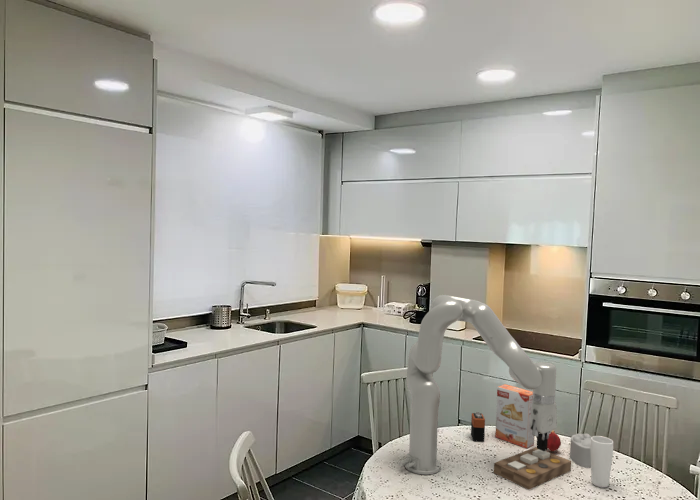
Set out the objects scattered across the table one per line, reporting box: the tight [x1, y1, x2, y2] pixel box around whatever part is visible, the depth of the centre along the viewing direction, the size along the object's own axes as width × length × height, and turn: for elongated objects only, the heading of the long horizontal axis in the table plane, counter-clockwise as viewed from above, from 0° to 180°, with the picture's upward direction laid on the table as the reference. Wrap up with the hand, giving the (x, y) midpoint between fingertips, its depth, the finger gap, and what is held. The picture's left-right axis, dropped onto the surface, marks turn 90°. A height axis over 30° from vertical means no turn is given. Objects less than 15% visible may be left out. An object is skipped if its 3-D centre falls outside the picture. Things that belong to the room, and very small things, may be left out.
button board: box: [493, 446, 572, 491], centre depth 186 cm, size 24×14×4 cm, turn 127°
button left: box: [508, 461, 526, 470], centre depth 183 cm, size 4×4×2 cm
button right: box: [532, 449, 551, 460], centre depth 191 cm, size 4×4×2 cm
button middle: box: [520, 454, 538, 465], centre depth 187 cm, size 4×4×2 cm
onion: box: [547, 429, 562, 453], centre depth 203 cm, size 6×6×8 cm
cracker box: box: [495, 383, 536, 449], centre depth 211 cm, size 14×6×21 cm, turn 42°
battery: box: [470, 411, 486, 443], centre depth 214 cm, size 4×7×10 cm, turn 175°
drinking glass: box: [590, 435, 614, 488], centre depth 178 cm, size 7×7×15 cm
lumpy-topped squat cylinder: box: [569, 433, 592, 469], centre depth 196 cm, size 10×13×9 cm
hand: (541, 449), depth 191 cm, fingers closed
